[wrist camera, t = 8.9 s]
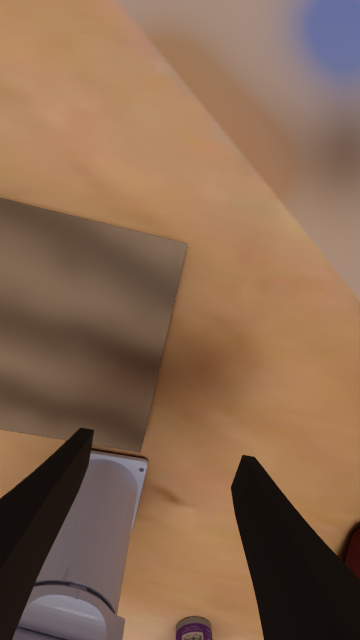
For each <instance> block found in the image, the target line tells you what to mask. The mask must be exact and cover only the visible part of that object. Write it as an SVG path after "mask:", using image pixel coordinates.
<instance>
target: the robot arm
mask: <svg viewBox="0 0 360 640" xmlns="http://www.w3.org/2000/svg"><path fill="white" fill-rule="evenodd" d="M93 435H94V430H92V429H86V428H79V429H78V430H77V431H76V432H75V433H74V434H73V435H72V436H71V437H70V438H69V439H68V440H67V441H66V442H65V443H64V444H63V445H62V446H61V447H60V448H59V449H58V450H57V451H56V452H55V453H54V454H53V455H51V456H50V457H49V458H48V459H47V460H46V461H45V462H44V463H43V464H42V465H40V466H39V467H38V468H37V469H36V470H35V471H34V472H32V473H31V474H30V475H29V476H28V477H26V478H25V479H24V480H23V481H22V482H20V483H19V484H18V485H17V486H16V487H14V488H13V489H12V490H11V491H9V492H8V493H7V494H6V495H4V496H3V497H2V498H0V640H122V639H123V631H124V624H125V619H124V618H122V617H119V616H117V612H118V606H119V600H120V593H121V587H122V581H123V575H124V569H125V563H126V557H127V551H128V545H129V539H130V533H131V530H132V529H133V525H134V520H135V516H136V512H137V508H138V504H139V499H140V495H141V491H142V487H143V483H144V478H145V474H146V470H147V465H148V461H147V460H146V459H143V458H136V457H130V456H124V455H118V454H112V453H105V452H99V451H93V450H91V447H92V441H93ZM231 491H232V498H233V505H234V511H235V516H236V520H237V524H238V528H239V532H240V536H241V540H242V544H243V548H244V551H245V555H246V559H247V563H248V567H249V571H250V575H251V579H252V582H253V586H254V591H255V595H256V600H257V604H258V609H259V615H260V620H261V625H262V631H263V636H264V640H360V579H359V578H358V577H357V576H356V575H355V574H354V573H353V572H352V571H351V570H350V569H349V568H348V567H347V566H346V565H345V564H344V563H343V562H342V561H341V560H340V558H339V557H338V556H337V555H336V554H335V553H334V552H333V551H332V550H331V549H330V548H329V547H328V546H327V545H326V544H325V542H324V541H323V540H322V539H321V538H320V537H319V536H318V535H317V534H316V532H315V531H314V530H313V529H312V528H311V527H310V525H309V524H308V523H307V522H306V521H305V520H304V518H303V517H302V516H301V515H300V514H299V512H298V511H297V510H296V509H295V508H294V506H293V505H292V504H291V503H290V501H289V500H288V499H287V498H286V496H285V495H284V494H283V493H282V491H281V490H280V489H279V488H278V486H277V485H276V484H275V482H274V481H273V480H272V479H271V477H270V476H269V475H268V473H267V472H266V471H265V469H264V468H263V467H262V466H261V464H260V463H259V462H258V461H257V459H256V458H255V457H252V456H246V455H242V458H241V461H240V464H239V466H238V469H237V472H236V475H235V478H234V480H233V483H232V486H231Z"/></svg>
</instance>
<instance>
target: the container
mask: <svg viewBox="0 0 360 640" xmlns="http://www.w3.org/2000/svg"><path fill="white" fill-rule="evenodd" d="M176 640H212V632H211V625H210V623H209V622H208V621H207V620H206V619H204V618H201V617H188V618H185V619H183V620H181V621H180V622H179V623H178V624H177V626H176Z"/></svg>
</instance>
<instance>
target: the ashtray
mask: <svg viewBox="0 0 360 640" xmlns="http://www.w3.org/2000/svg"><path fill="white" fill-rule="evenodd" d="M344 564H345V565H346V566H347V567H348V568H349V569H350V570H351V571H352V572H353V573H354V574H355V575H356V576H357V577H358V578H359V579H360V528H359V529H357V530H356V531H355V532H354V534H353V536H352V537H351V539H350V542H349V547H348V551H347V554H346V558H345V563H344Z"/></svg>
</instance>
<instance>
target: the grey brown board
mask: <svg viewBox="0 0 360 640" xmlns="http://www.w3.org/2000/svg"><path fill="white" fill-rule="evenodd" d="M186 248H187V244H186V243H182V242H177V241H173V240H169V239H165V238H161V237H157V236H153V235H149V234H145V233H141V232H137V231H133V230H129V229H125V228H120V227H116V226H112V225H108V224H104V223H100V222H96V221H92V220H88V219H84V218H80V217H76V216H72V215H68V214H63V213H59V212H55V211H51V210H47V209H43V208H39V207H35V206H31V205H27V204H23V203H19V202H15V201H11V200H6V199H2V198H0V430H6V431H13V432H19V433H25V434H31V435H37V436H43V437H49V438H55V439H61V440H68V439H69V438H70V437H71V436H72V435H73V434H74V433H75V432H76V431H77V430H78V429H79V428H86V429H92V430H94V435H93V441H92V445H98V446H104V447H110V448H116V449H123V450H129V451H135V452H141V449H142V444H143V440H144V435H145V431H146V426H147V422H148V417H149V413H150V408H151V404H152V400H153V395H154V391H155V386H156V382H157V377H158V373H159V368H160V364H161V359H162V355H163V350H164V346H165V342H166V337H167V333H168V328H169V324H170V319H171V315H172V310H173V306H174V301H175V297H176V293H177V288H178V284H179V279H180V275H181V270H182V266H183V261H184V257H185V252H186Z"/></svg>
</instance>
